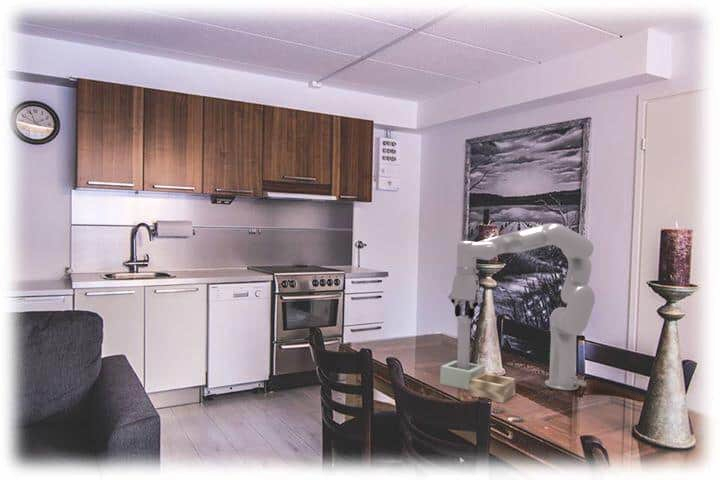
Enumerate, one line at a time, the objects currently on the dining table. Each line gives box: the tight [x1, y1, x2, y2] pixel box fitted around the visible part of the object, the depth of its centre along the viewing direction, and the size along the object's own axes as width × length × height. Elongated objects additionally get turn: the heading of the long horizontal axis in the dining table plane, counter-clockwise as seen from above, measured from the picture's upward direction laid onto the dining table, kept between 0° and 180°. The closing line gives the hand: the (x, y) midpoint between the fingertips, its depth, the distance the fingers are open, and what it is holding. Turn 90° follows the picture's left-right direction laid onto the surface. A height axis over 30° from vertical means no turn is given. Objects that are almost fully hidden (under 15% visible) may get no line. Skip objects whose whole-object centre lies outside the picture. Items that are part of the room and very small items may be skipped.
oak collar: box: [468, 371, 517, 404], centre depth 199 cm, size 13×13×6 cm
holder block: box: [439, 359, 486, 391], centre depth 212 cm, size 13×13×7 cm
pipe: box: [456, 303, 472, 370], centre depth 212 cm, size 6×6×30 cm
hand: (464, 316), depth 212 cm, fingers closed on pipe, 5 cm apart
